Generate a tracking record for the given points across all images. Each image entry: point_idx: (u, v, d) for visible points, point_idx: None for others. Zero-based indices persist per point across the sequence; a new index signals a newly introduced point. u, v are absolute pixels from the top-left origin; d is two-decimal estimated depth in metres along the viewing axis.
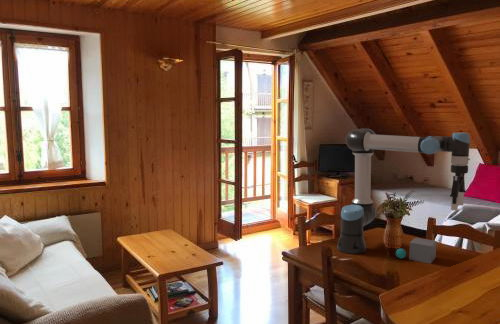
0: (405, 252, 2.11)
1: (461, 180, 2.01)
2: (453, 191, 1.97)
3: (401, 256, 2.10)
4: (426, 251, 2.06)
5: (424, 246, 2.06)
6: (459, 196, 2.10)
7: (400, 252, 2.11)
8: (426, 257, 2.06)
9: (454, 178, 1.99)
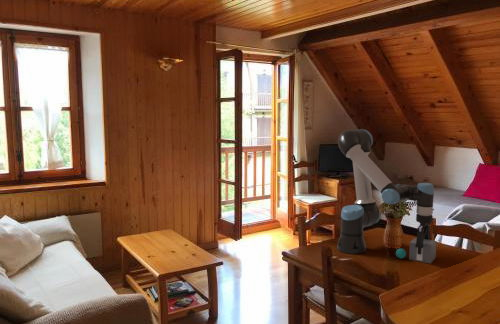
0: (405, 252, 2.11)
1: (425, 230, 2.07)
2: (418, 242, 2.05)
3: (401, 256, 2.10)
4: (426, 251, 2.06)
5: (424, 246, 2.06)
6: None
7: (400, 252, 2.11)
8: (426, 257, 2.06)
9: (418, 229, 2.05)
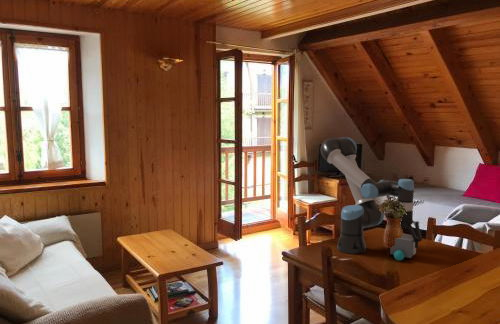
0: (403, 256, 2.08)
1: None
2: None
3: None
4: None
5: None
6: None
7: (398, 259, 2.08)
8: None
9: None
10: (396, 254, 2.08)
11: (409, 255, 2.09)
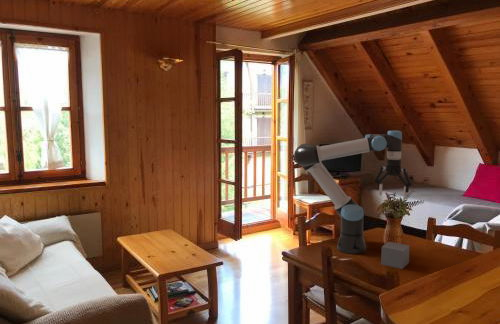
0: None
1: (387, 171, 2.32)
2: None
3: None
4: None
5: None
6: None
7: None
8: None
9: None
10: None
11: (401, 266, 1.99)
